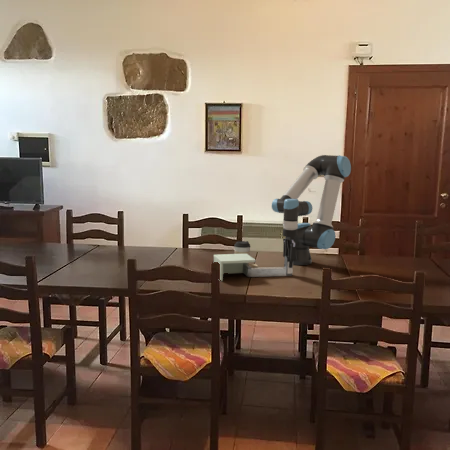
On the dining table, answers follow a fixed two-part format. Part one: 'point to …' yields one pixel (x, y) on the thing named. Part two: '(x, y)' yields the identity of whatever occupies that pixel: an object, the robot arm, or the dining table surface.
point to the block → (253, 265)
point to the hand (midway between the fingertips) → (288, 272)
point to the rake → (266, 270)
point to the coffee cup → (242, 247)
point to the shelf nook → (232, 263)
